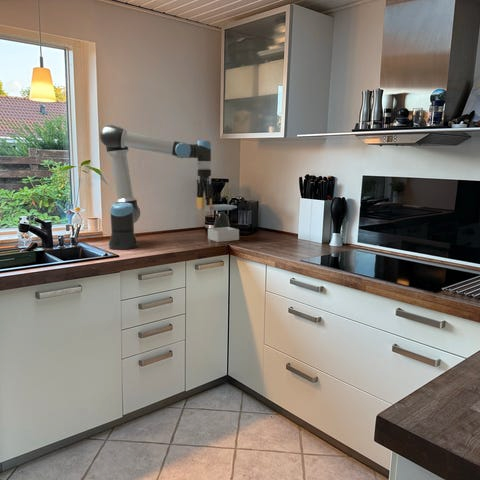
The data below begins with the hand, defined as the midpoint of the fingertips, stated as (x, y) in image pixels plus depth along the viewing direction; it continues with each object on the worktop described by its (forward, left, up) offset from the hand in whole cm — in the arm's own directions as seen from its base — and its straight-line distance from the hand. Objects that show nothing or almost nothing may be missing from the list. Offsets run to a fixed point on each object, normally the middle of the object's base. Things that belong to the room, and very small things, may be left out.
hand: (204, 210), depth 247 cm
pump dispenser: (+20, +16, -19) cm, 32 cm away
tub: (+12, 0, -19) cm, 22 cm away
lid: (+7, 0, 0) cm, 7 cm away
